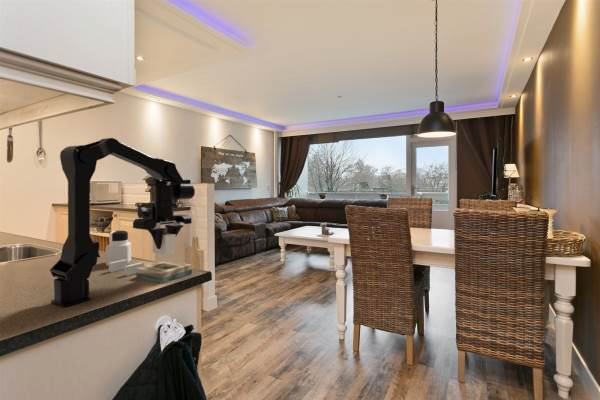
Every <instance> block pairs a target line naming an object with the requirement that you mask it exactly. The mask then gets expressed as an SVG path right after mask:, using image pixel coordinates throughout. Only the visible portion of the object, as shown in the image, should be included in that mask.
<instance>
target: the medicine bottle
mask: <svg viewBox="0 0 600 400" xmlns="http://www.w3.org/2000/svg"><path fill="white" fill-rule="evenodd" d="M108 235H109V240H108V241H109V244H107V245H106V246H105V265H106V266H108V267H109V263H111V262H115V261H120V260H124V259H127V260H128V264H129V263H130V262H131V261H132V243H131V241H129V233H128V231H126V230H113V231H111V232H110V233H109V234H108Z"/></svg>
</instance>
